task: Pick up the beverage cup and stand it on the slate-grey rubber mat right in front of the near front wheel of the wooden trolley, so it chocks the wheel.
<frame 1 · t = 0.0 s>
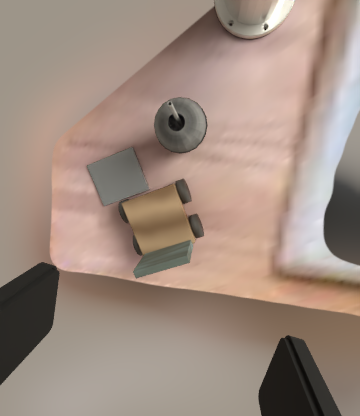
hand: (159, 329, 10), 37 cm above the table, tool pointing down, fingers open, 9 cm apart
trolley: (164, 215, 48), on the table
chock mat: (118, 177, 47), on the table
beverage cup: (188, 133, 44), on the table
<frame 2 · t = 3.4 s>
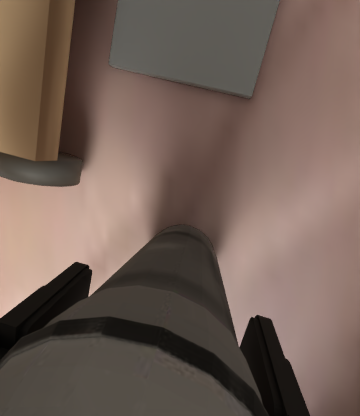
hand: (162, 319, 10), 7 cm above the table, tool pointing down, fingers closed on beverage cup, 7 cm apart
trolley: (23, 61, 15), on the table
beverage cup: (182, 254, 17), on the table, touching gripper
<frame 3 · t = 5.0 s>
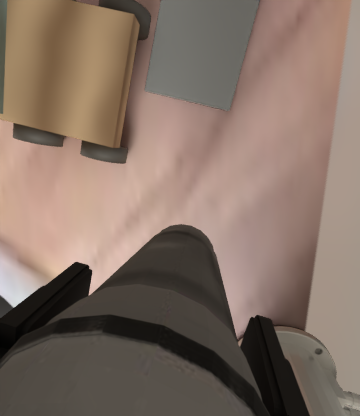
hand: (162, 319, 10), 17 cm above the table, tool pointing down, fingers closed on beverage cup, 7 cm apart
trolley: (90, 86, 25), on the table
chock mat: (199, 45, 23), on the table
beverage cup: (182, 253, 17), point 10 cm above the table, touching gripper
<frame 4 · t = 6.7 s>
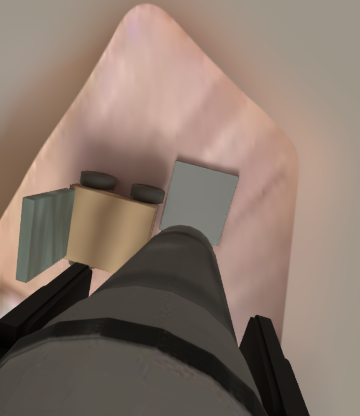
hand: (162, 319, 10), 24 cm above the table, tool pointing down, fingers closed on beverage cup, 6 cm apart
trolley: (121, 222, 35), on the table
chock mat: (197, 203, 33), on the table
beverage cup: (181, 254, 17), point 17 cm above the table, touching gripper
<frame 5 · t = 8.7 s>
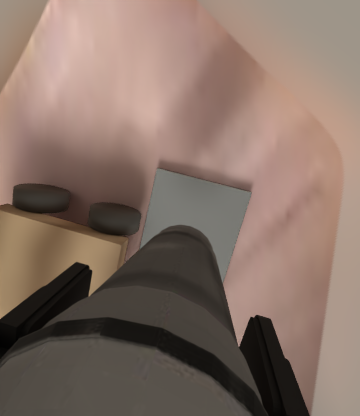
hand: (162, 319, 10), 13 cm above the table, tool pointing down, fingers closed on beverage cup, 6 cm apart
trolley: (82, 255, 25), on the table
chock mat: (190, 230, 23), on the table
beverage cup: (181, 254, 17), point 6 cm above the table, touching gripper
when the fingers open (9 cm above the table, at t = 10.2 s): beverage cup drops 1 cm, resting on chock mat.
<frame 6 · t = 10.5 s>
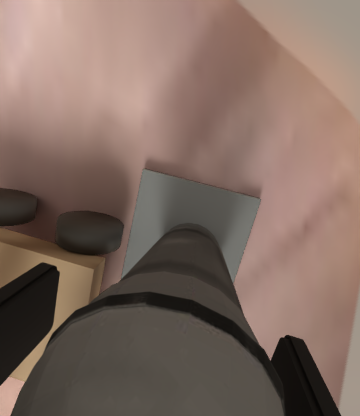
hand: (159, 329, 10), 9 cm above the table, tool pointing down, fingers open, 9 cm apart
trolley: (55, 273, 21), on the table
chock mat: (184, 245, 19), on the table
beverage cup: (189, 250, 18), resting on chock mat
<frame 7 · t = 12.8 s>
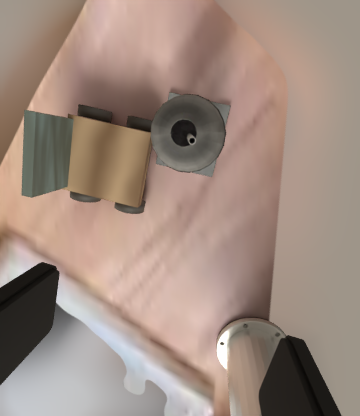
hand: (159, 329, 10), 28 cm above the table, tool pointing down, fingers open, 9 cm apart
trolley: (118, 159, 37), on the table
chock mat: (191, 136, 35), on the table
beverage cup: (194, 138, 34), resting on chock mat
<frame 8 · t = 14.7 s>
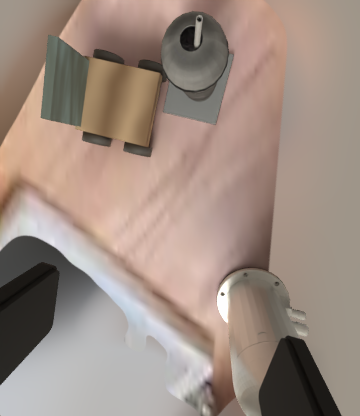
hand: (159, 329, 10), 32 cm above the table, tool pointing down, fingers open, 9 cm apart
trolley: (128, 109, 39), on the table
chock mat: (197, 85, 37), on the table
beverage cup: (199, 86, 37), resting on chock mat
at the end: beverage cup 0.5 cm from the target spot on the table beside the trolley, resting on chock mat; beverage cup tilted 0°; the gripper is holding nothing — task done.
